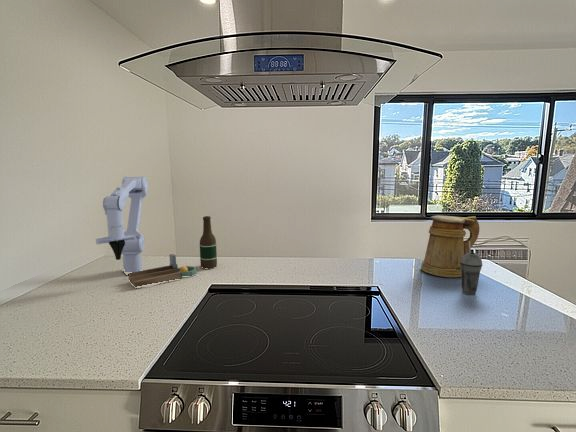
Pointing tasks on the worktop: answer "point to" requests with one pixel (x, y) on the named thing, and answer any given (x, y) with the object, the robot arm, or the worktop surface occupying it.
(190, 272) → the teal shallow dish
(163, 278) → the brown wooden moulding block
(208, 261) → the beer bottle
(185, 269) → the ball
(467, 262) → the beverage cup
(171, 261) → the gray l-shaped bracket
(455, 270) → the tankard
